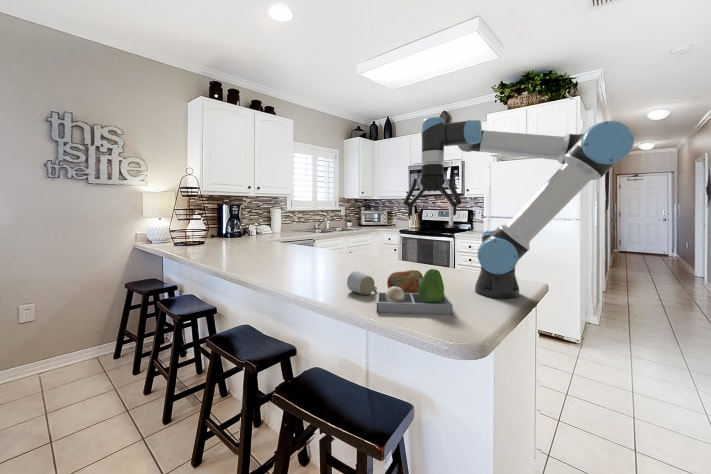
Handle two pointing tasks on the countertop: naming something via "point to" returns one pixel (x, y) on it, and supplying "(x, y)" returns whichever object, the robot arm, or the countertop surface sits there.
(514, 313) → the countertop surface
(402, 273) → the tin
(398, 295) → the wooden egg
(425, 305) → the grey divided tray
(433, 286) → the avocado
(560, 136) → the robot arm
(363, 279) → the ceramic mug
